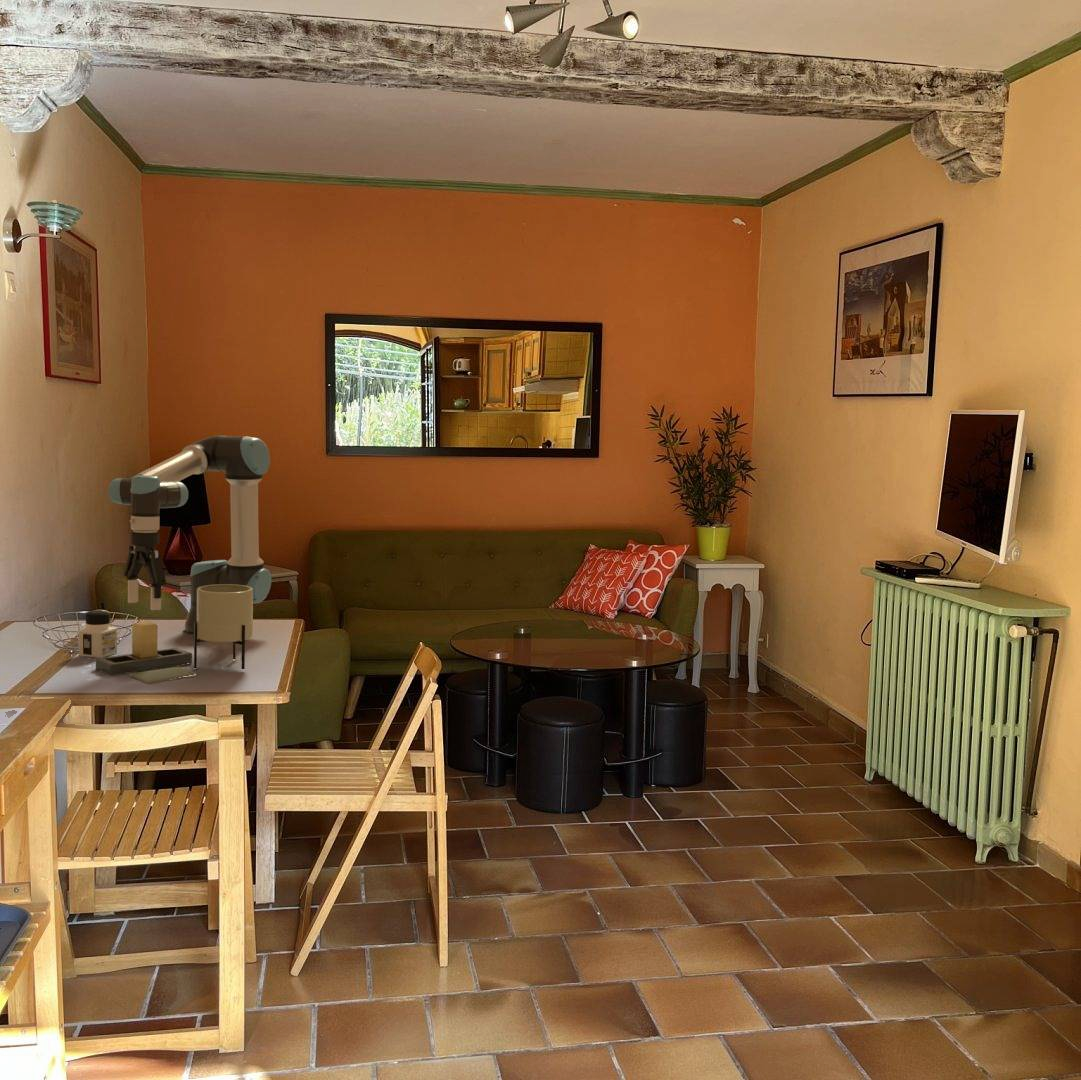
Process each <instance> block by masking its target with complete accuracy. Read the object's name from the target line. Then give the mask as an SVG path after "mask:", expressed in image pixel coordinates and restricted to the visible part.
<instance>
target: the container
mask: <svg viewBox="0 0 1081 1080" xmlns="http://www.w3.org/2000/svg"><path fill="white" fill-rule="evenodd" d="M85 626H86V627H85V628H82V629H79V630H78V656H79V657H88V658H95V659H96V658H104V657H110V656H112V655H114V654H117V653H118V628H117V627H116V626H111V613H110V612H109V611H108V610H104V609H93V610H89V611H87V612H86V613H85Z"/></svg>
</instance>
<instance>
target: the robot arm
mask: <svg viewBox="0 0 1081 1080" xmlns="http://www.w3.org/2000/svg"><path fill="white" fill-rule="evenodd" d="M270 455H271V454H270V450H269V448H268V445H266V443H265V442H264V441H263V440H262V439H260V438H258V437H251V436H246V435H245V436H241V435H240V436H237V435H236V436H235V435H234V436H233V435H223V434H222V435H220V434H219V435H212V436H208V437H206V438H203V439H199V440H197V441H196V442H195V441H194V442H192V443H190V444H188V445H186V446H185V447H183V448H182V450H181V452H180V453H177V454H176V455H174V456H172V457H169V458H167V459H165V460H163V461H162V462H159V463H157V464H155V465H153V466H152V467H149V468H147V469H145V470H143V471H140V472H139V473H138V474H134V475H133V476H131V477H129V478H125V477H120V478H118V477H117V478H114V479H113V480H112V481H110V484H108V490H107V491H108V498H109V499H110V500H111V502H113V503H114V504H119V505H122V506H126V505H128V506H130V508H131V509H130V520H129V523H130V530H131V532H130V545H129V548H128V556H127V559H126V564H125V567H124V570H123V576H124V577H126V579H127V603H128V604H132V603H133V604H134V603H138V602H139V578H140V577H139V574H140V571H141V569H142V568H143V566H144V568H146V570H147V571H146V572H147V573H148V576H149V579H150V582H151V585H149V587H150V611H156V610H157V611H159V610H160V611H161V610H162V587H163V586H166V585H167V580H166V575H165V572H164V571H165V570H164V567H163V561H162V554H161V553H162V552H161V550H159V549H158V550H156V549H155V546H158V545H159V544H160V533H159V530H160V521H161V520H160V509H170V508H172V509H175V508H180V507H182V506H184V505H185V504H186V503H187V501H188V499H189V490H188V488H187V486H186V485H185V484H184V483H183V482H181V481H182V480H184V479H186V478H188V477H190V476H192V475H200V474H203V473H206V472H221V473H222V472H224V479H225V481H226V482H228V483H229V486H230V487H229V488H230V489H229V490H230V492H229V493H230V536H231V537H230V544H231V545H230V546H231V547H230V548H231V549H230V550H231V557H230V558H229V559H228V560H226V559H215V560H205V561H200V562H194V563H193V564H192V565H191V567H190V568H191V569H190V574H189V575H190V576H189V577H190V607H189V610H188V613H187V616H186V619H185V622H184V631H185V632H187V633H190V634H194V622H197V588H198V587H201V586H206V585H215V584H236V585H245V586H249V587H252V588H253V604H260V603H262V602H263V601H264V600H265V599H266V598H267V596H268V594H269V592H270V590H271V586H272V574H271V572H270V570H268V569H267V568H265V564H264V560H263V558H261V557H260V552H259V551H260V550H259V549H260V546H259V545H260V543H259V542H260V541H259V483H260V482H261V481H262V480H263V475H264V474H266V473H267V472H268V471H269V469H270V465H271V456H270Z"/></svg>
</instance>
